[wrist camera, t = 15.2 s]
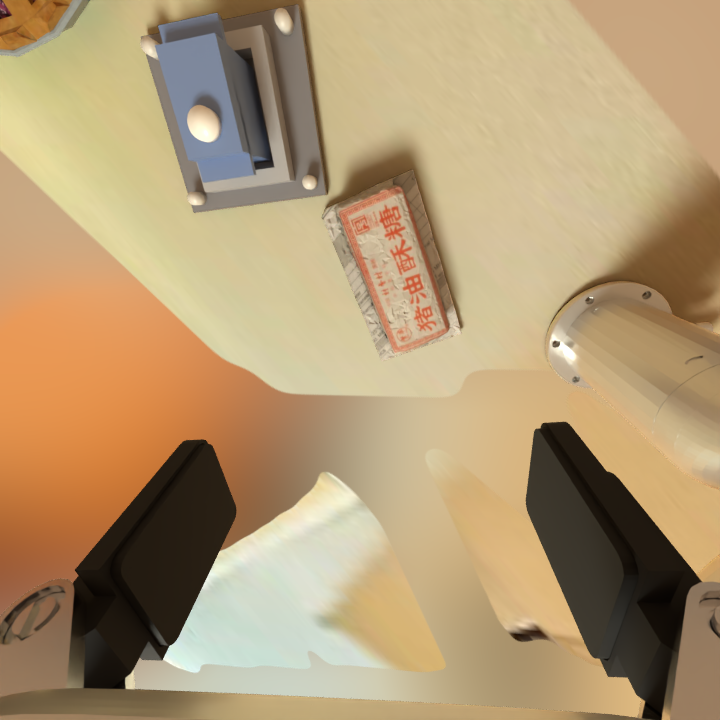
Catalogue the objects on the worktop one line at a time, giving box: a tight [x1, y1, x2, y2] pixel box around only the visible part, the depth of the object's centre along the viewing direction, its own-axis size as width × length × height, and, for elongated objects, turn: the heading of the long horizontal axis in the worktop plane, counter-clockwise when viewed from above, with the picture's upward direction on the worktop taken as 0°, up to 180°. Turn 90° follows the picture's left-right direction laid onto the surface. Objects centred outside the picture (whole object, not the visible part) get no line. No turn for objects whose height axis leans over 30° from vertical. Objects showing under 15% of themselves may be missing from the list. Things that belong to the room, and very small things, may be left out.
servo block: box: [155, 13, 272, 183], centre depth 28 cm, size 4×10×8 cm, turn 7°
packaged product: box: [322, 169, 462, 361], centre depth 36 cm, size 18×5×10 cm
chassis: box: [141, 4, 328, 213], centre depth 31 cm, size 14×14×3 cm
